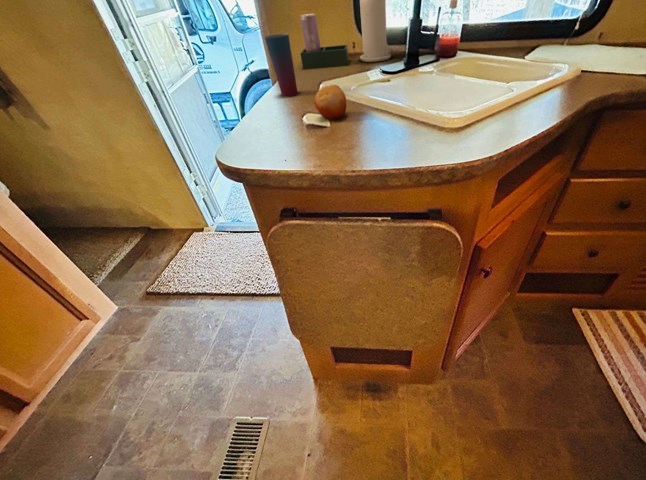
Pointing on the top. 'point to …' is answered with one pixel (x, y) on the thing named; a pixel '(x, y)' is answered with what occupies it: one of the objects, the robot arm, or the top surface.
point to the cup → (282, 62)
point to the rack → (325, 57)
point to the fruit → (330, 102)
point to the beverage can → (310, 32)
